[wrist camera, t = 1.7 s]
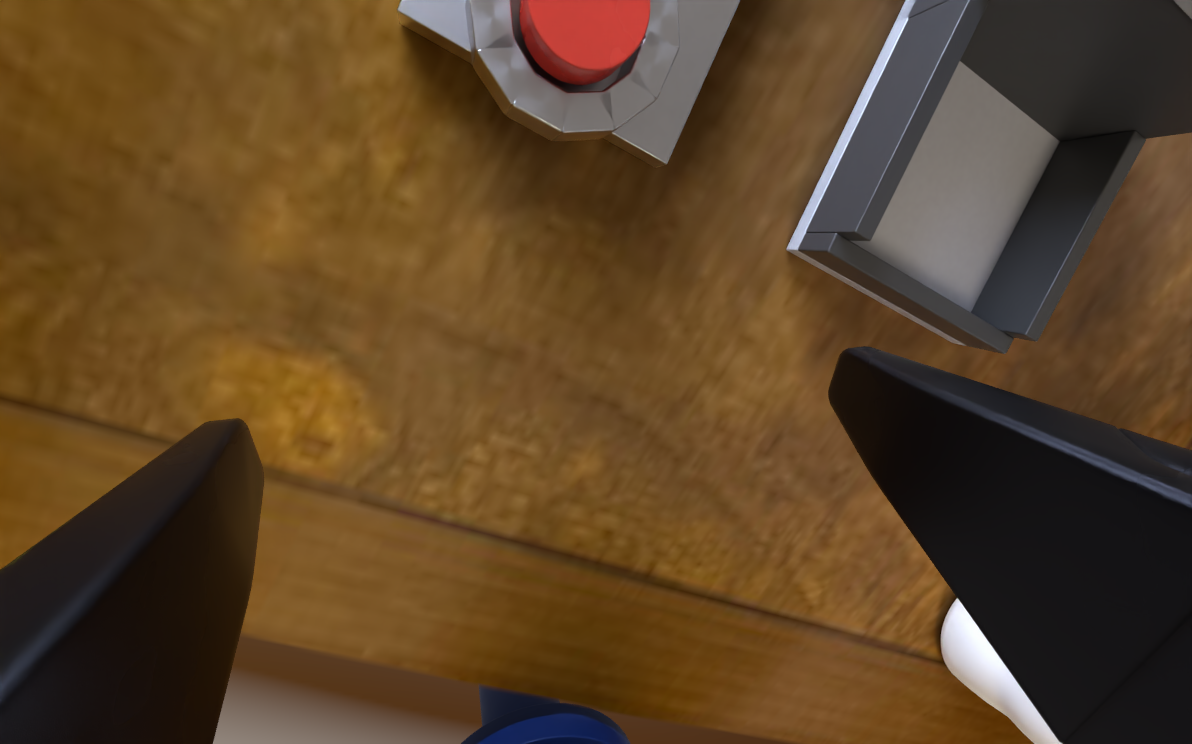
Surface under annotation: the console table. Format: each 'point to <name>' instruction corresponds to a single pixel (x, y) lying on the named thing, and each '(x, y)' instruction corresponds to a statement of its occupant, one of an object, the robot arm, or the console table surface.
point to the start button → (583, 35)
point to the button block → (586, 112)
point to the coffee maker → (994, 155)
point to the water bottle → (988, 674)
